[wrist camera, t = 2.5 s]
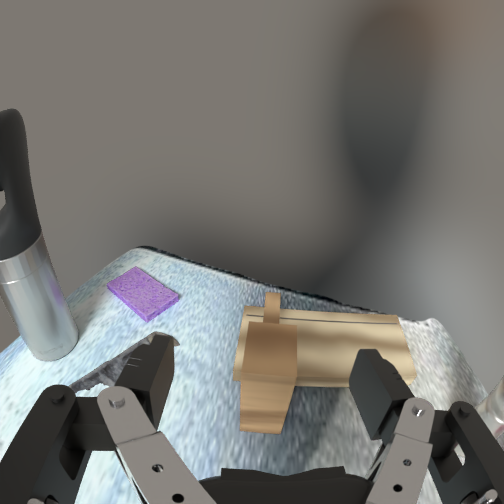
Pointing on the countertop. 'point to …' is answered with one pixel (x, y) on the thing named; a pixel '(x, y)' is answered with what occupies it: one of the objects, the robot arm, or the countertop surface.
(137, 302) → the sponges
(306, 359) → the pine board
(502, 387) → the plastic bottle
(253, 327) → the block
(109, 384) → the driftwood
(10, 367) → the countertop surface
